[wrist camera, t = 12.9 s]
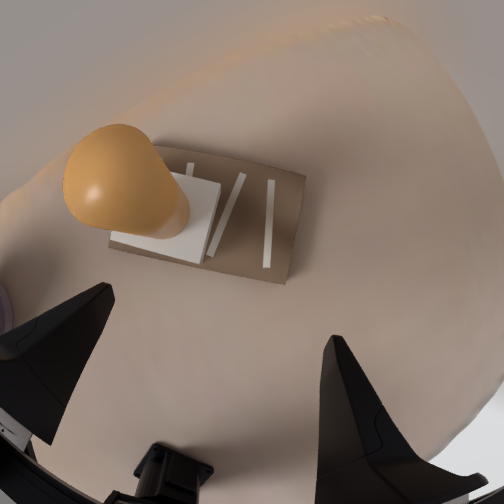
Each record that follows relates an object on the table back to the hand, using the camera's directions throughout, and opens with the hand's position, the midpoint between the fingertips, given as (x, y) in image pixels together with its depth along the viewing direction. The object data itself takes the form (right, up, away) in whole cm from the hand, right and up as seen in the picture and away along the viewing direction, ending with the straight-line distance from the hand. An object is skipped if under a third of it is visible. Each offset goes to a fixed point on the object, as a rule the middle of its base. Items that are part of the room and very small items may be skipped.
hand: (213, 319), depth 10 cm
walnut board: (-2, +5, +10) cm, 12 cm away
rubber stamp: (-4, +5, +8) cm, 10 cm away
